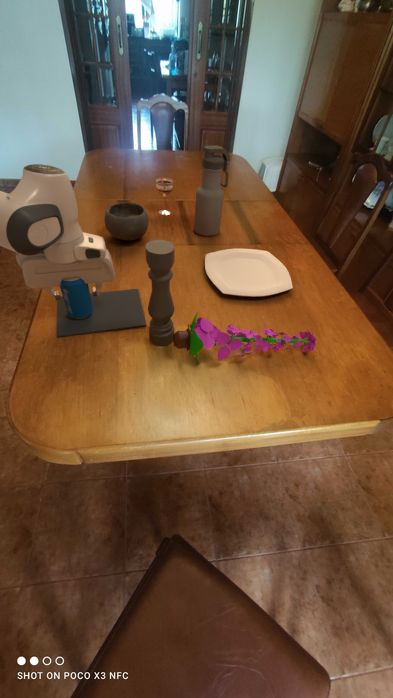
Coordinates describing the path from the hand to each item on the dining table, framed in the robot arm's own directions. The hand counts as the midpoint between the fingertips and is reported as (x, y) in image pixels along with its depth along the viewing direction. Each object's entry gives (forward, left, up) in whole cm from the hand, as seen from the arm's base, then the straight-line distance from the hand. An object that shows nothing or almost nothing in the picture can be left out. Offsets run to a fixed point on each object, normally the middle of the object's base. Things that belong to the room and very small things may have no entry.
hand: (77, 297), depth 80 cm
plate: (+51, +10, -6) cm, 52 cm away
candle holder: (+19, -13, -6) cm, 24 cm away
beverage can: (0, 0, -5) cm, 5 cm away
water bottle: (+47, +41, -6) cm, 63 cm away
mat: (+5, 0, -6) cm, 8 cm away
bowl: (+17, +40, -6) cm, 44 cm away
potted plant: (+38, -21, -6) cm, 44 cm away
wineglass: (+34, +59, -6) cm, 68 cm away
